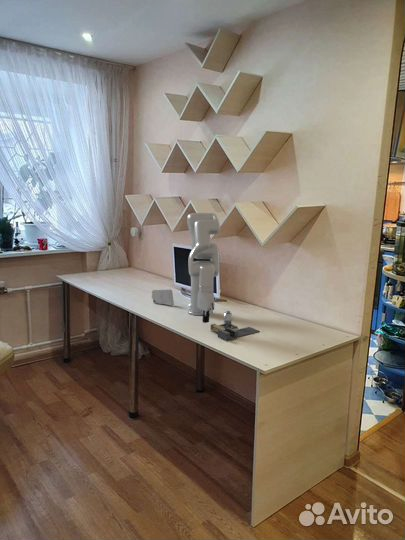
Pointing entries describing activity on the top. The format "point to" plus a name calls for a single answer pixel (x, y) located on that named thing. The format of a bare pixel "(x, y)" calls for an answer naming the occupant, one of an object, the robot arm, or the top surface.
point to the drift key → (216, 327)
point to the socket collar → (230, 327)
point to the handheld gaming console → (163, 296)
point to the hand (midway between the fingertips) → (205, 322)
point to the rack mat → (246, 331)
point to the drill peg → (227, 319)
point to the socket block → (227, 334)
